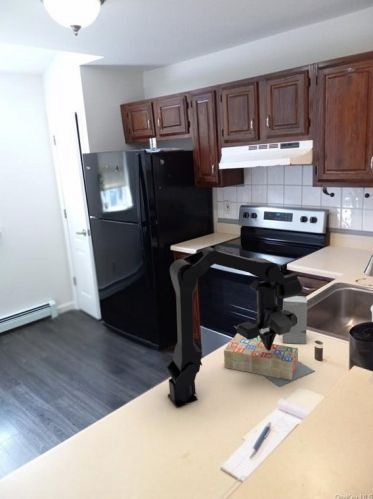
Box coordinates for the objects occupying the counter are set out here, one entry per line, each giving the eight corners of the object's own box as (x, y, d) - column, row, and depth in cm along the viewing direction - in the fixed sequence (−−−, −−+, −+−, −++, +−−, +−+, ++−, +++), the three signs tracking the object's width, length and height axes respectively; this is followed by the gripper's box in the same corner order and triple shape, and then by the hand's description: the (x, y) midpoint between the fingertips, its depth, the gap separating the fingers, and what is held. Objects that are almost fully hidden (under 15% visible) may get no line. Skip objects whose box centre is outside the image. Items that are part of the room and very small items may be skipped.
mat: (279, 386, 108) (279, 385, 108) (245, 363, 122) (245, 362, 122) (314, 371, 114) (314, 370, 114) (279, 350, 128) (279, 349, 128)
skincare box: (282, 343, 133) (282, 301, 129) (282, 334, 140) (281, 294, 136) (307, 344, 131) (307, 302, 127) (306, 335, 138) (306, 294, 134)
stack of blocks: (291, 381, 110) (300, 360, 120) (291, 362, 108) (300, 343, 119) (224, 367, 120) (237, 349, 131) (223, 349, 119) (237, 332, 129)
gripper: (259, 318, 99) (260, 371, 102) (311, 302, 107) (311, 351, 110) (234, 306, 108) (237, 354, 112) (284, 291, 116) (284, 337, 120)
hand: (268, 349), depth 113 cm, fingers closed
